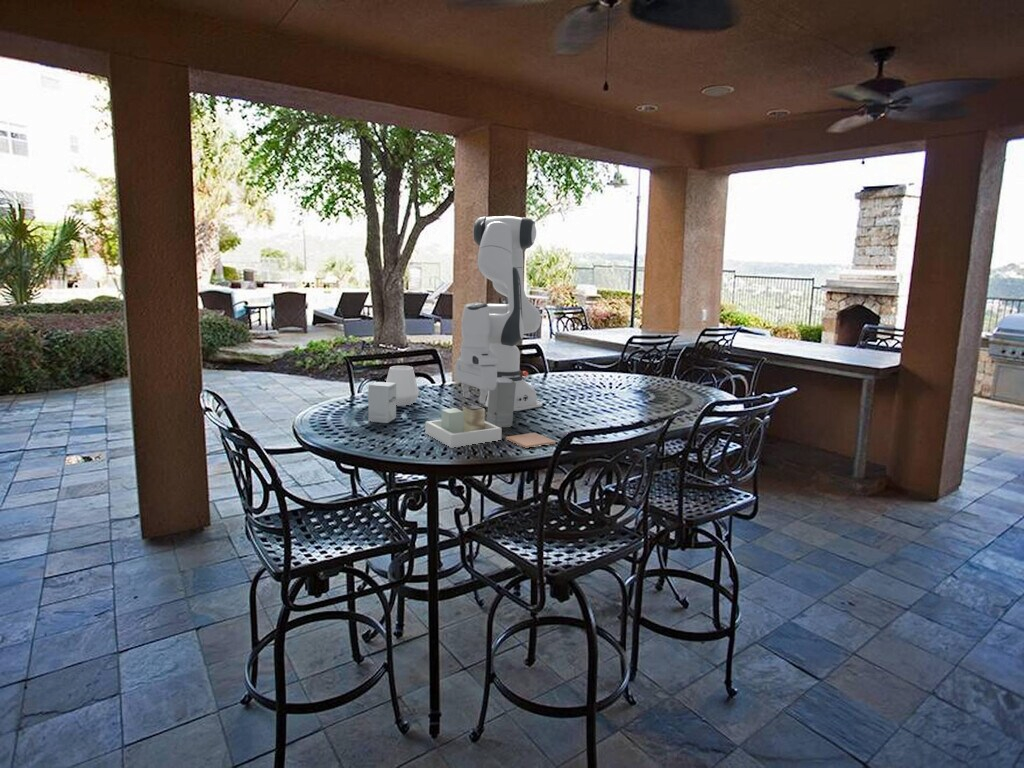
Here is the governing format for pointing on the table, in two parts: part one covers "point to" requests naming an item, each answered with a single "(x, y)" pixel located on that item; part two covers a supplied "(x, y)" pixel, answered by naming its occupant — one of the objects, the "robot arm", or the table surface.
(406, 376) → the cup
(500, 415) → the skincare box
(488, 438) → the bin
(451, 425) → the plain block
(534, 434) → the tile
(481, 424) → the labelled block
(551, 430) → the table surface
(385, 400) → the supplement box
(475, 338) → the robot arm
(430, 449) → the table surface
